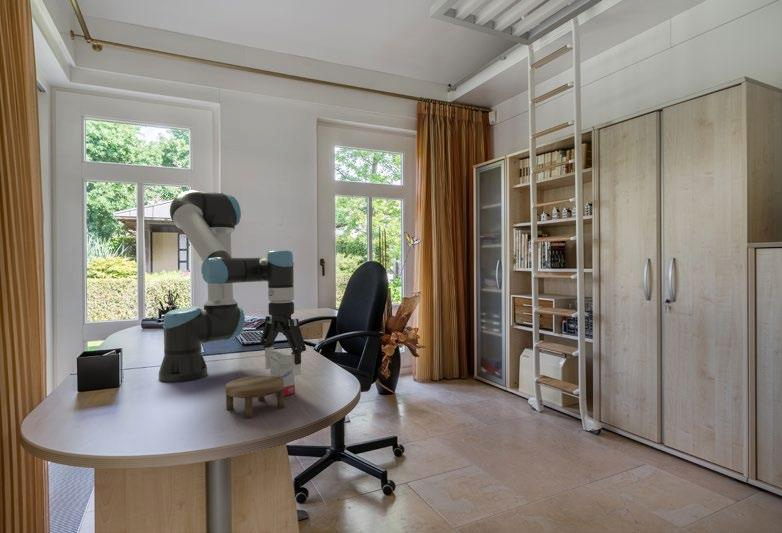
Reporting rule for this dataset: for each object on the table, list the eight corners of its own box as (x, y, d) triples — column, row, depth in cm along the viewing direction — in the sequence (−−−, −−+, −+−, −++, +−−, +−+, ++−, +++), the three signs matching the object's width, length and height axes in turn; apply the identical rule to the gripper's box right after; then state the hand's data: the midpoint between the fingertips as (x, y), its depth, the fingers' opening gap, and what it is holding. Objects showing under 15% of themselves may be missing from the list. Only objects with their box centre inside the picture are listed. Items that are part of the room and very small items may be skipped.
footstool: (215, 409, 116) (215, 384, 116) (264, 395, 127) (264, 372, 127) (244, 423, 106) (244, 395, 106) (295, 407, 117) (294, 382, 117)
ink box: (295, 394, 128) (295, 354, 128) (278, 397, 125) (278, 357, 125) (285, 386, 136) (285, 349, 135) (269, 389, 133) (269, 351, 133)
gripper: (248, 300, 135) (249, 367, 136) (295, 304, 119) (297, 381, 119) (268, 298, 141) (270, 363, 141) (317, 302, 125) (318, 375, 125)
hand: (282, 371), depth 130 cm, fingers open, 13 cm apart
